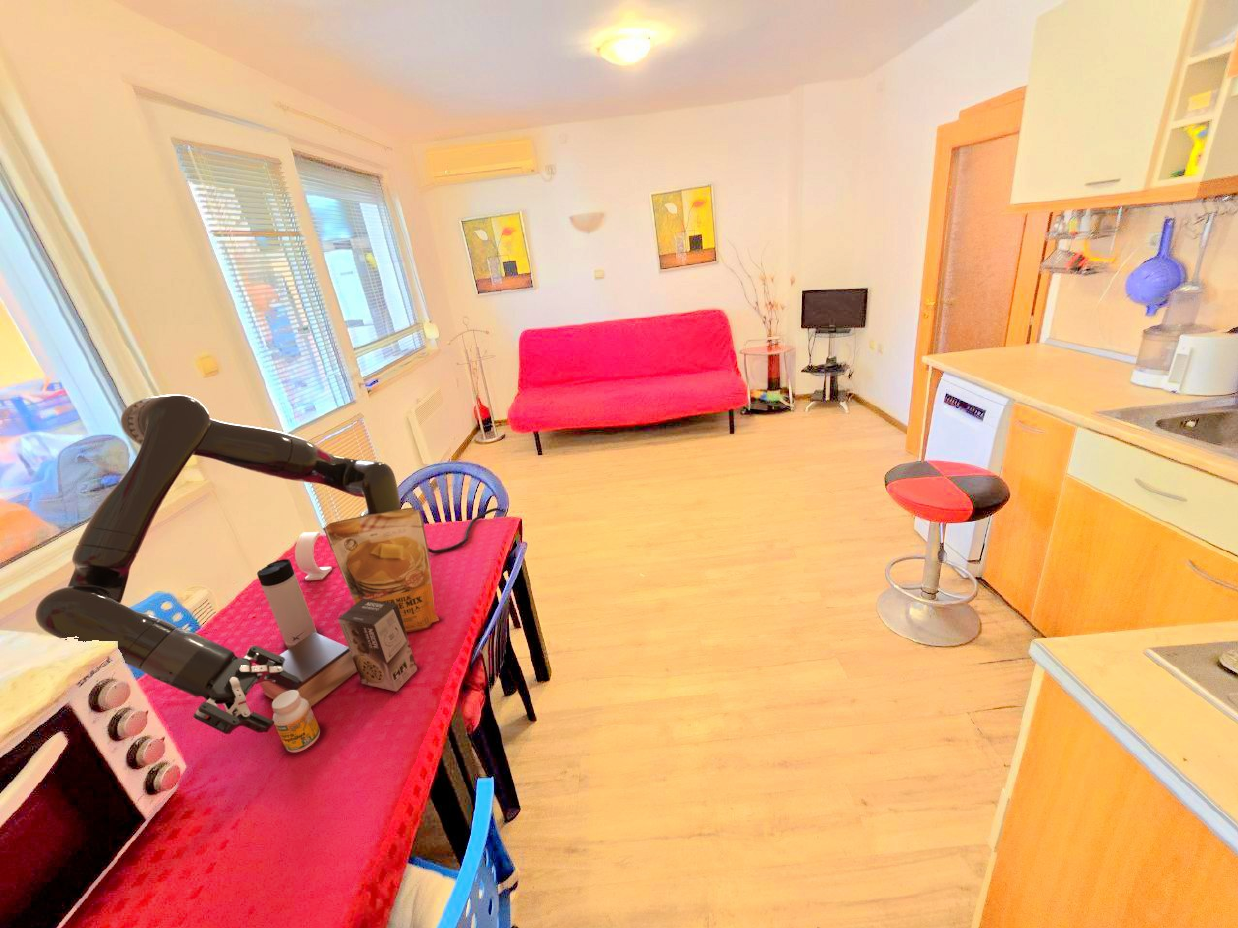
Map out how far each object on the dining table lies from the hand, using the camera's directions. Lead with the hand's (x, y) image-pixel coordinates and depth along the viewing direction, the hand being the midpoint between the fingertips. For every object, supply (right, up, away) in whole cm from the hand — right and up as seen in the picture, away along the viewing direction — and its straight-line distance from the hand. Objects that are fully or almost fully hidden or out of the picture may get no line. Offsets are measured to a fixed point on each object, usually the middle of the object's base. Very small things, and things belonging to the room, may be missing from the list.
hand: (285, 705), depth 85 cm
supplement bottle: (+1, -8, +3) cm, 8 cm away
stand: (-5, -3, +16) cm, 17 cm away
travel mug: (-15, +1, +29) cm, 32 cm away
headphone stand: (-27, +10, +54) cm, 61 cm away
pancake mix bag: (+7, +4, +30) cm, 31 cm away
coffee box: (+11, -2, +16) cm, 19 cm away
